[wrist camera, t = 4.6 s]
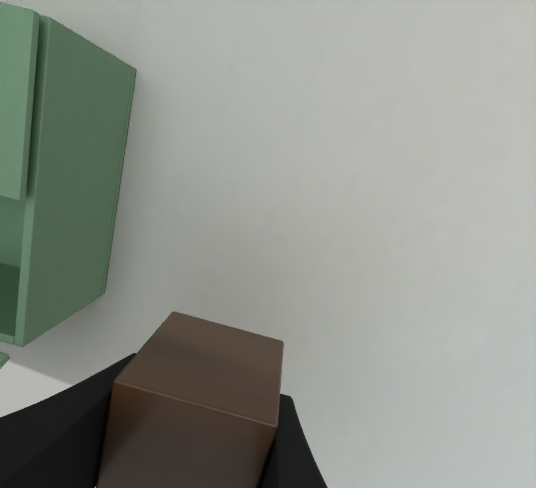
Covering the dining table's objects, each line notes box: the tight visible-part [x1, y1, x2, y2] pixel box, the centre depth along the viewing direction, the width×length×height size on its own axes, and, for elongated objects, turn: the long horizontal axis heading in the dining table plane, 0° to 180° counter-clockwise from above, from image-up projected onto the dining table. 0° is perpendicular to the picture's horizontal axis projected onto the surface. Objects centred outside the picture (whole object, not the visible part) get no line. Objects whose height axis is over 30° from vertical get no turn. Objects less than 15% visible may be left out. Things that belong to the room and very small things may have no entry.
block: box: [96, 312, 284, 488], centre depth 10 cm, size 4×4×4 cm
